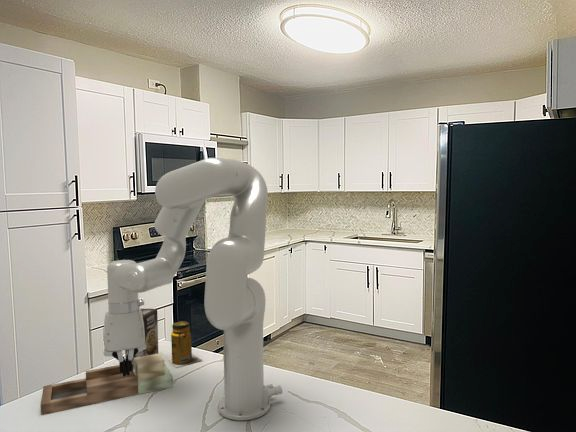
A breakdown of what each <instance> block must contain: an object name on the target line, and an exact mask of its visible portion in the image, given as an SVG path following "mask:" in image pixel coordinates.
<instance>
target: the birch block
mask: <svg viewBox="0 0 576 432" xmlns="http://www.w3.org/2000/svg"><path fill="white" fill-rule="evenodd" d="M158 353H159V354H153V355H148V356H142V357H136V358H134V361H135V373H136V375H137V376H138V380H141V379H146V378H151V377H156V376H161V375H165V365H164V364H165V359H164V357H163V356H162V354H161V352H158Z"/></svg>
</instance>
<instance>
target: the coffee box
mask: <svg viewBox="0 0 576 432" xmlns="http://www.w3.org/2000/svg"><path fill="white" fill-rule="evenodd" d="M140 309H141V311H142V316H143V322H144V331H145V345H146V349H145V350H143V351H140V352H138V353H137V354H136V355H135V356H134V357H133V359H132V363H133V369H135V361H134V358H136V357H142V356H148V355H153V354H159V353H160V352H159V323H158V308H140ZM127 352H128V350H124V358H126V356H127Z"/></svg>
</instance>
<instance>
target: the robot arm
mask: <svg viewBox="0 0 576 432" xmlns="http://www.w3.org/2000/svg"><path fill="white" fill-rule="evenodd" d="M154 195H155V198H156V201H157V203H158V204H159V205H160V206H162V207H161V208H160V211H159V213H158V214H157V217H156V218H155V221H154V225H153V226H154V229H155V230H156V232H157V233H158V234H159V235H160V236H162V237H163V240H162V241H163V242H162V245H161V247H160V249H159V251H158V253H157V255H156V257H155V258H152V259H149V260H145V261H141V262H136V261H135V260H131V259H120V260H114V261H110V262H109V263H108V265H107V268H106V274H107V276H106V277H107V280H106V281H107V299H108V300H107V301H108V302H107V303H108V304H107V305H108V306H107V307H108V309H107V310H108V311H107V312H105V314H104V320H103V321H104V323H103V346H104V348H103V356H104V357H113V358H114V359H116V360H117V361H118V363H119V364H118V365H119V366H120V373H121V372H122V373H123V376H126V374H127V375H130V371H132V359H133V357H134V356H135V355H136V354H137V353H138V352H140V351H143V350H145V349H146V345H145V331H144V322H143V316H142V311H141V309H142V308H141V306H145V300H144V299H143V300H141V299H139V293H141V294H142V293H145V292H149V291H150V290H154V289H157V288H159V287H162V286H164V285H167V284H169V283H170V282H171V281H172V280H173V279H174V277H175V276H176V274H177V272H178V271H179V268H181V265H182V263H183V261H184V259H185V255H186V252H187V251H186V250H187V249H186V248H187V241H186V238H187V235H188V234H189V231H190V230H191V228H192V226H193V224H194V223H195V220H196V218H197V217H198V215H199V213H200V211H201V209H202V207H203V206H204V203H205V201H206V200H207V199H210V198H215V197H225V196H226V197H227V196H228V197H229V196H231V197H233V198H234V202H233V204H232V206H231V210H230V216H229V229H228V236H227V237H225V238H221V239H220V240H219V241H217V242H215V243H214V244H213V246H212V247H211V248H210V251H209V253H208V256H207V259H206V267H205V284H204V286H205V287H204V304H203V306H204V312H205V316H206V319H207V320H208V322H209V323H210V325H211V326H213V327H214V328H215V329H217V330H221V331H223V336H222V337H223V341H222V342H223V384H224V385H223V386H224V396H223V397H222V398H221V399H220V400H219V402H218V403H217V404H218V405H217V409H218V412H219V414H220V415H221V416H222V417H224V418H226V419H229V420H233V421H251V420H255V419H257V418H260V417H262V416H264V415H265V414H267V413H268V412H269V410H270V408H271V400H270V399H271V398H272V396H277V395H282V394H283V387H282V385H278V386H274V385H273V383H270V384H267V385H264V383H265V381H264V320H265V312H266V295H265V290H264V288H263V286H262V284H261V283H260V282H258V281H257V280H256V279H254V278H251V277H248V275H251V274H252V273H254V272H256V271H257V270H258V269H260V268H261V266H262V264H263V263H264V258H265V244H266V230H267V229H266V228H267V226H266V225H267V211H268V200H269V199H268V197H269V194H268V186H267V183H266V181H265V178H264V177H263V175H262V174H261V173H260V172H259V171H258V170H257V169H256V168H255V167H253V166H252V165H251V164H249V163H246V162H245V161H244V162H243V161H242V160H236V159H230V158H222V157H209V158H205V159H202V160H199V161H196V162H194V163H191V164H188V165H185V166H183V167H182V166H181V167H180V168H177V169H174V170H171V171H169V172H167V173H165V174H164V175H162V176H161V177H160V178H159V180H157V182H156V186H155V187H154ZM125 350H128V352H127V356H126V358H125V355H124V354H123V351H125Z"/></svg>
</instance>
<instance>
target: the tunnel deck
mask: <svg viewBox="0 0 576 432" xmlns="http://www.w3.org/2000/svg"><path fill="white" fill-rule="evenodd" d="M164 365H165V375H161V376H156V377H151V378H146V379H141V380H138V376H137V375H136V373H135V369H133V363H132V371H130V375H127V374H126V376H123V373H122V372H121V373H120V366H119V364H117V365H113V366H105V367H100V368H95V369H89V370H85V377H84V378H81V379H74V380H70V381H63V382H60V383H59V382H58V383H54V384H47V385H44V386H43V388H42V392H41V393H42V394H41V402H40V415H41V416H44V415H47V414H53V413H56V412H57V413H58V412H61V411H66V410H71V409H76V408H80V407H81V408H82V407H85V406H89V405H90V406H92V405H94V404H95V405H96V404H99V403H104V402H109V401H113V400H118V399H119V400H120V399H122V398H123V399H124V398H127V397H133V396H136V395H137V396H138V395H142V394H146V393H152V392H156V391H161V390H165V389H170V388H174V377H173V375H172V373H171V372H170V370H169V368H168V366H167V364H166V363H164Z"/></svg>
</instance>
